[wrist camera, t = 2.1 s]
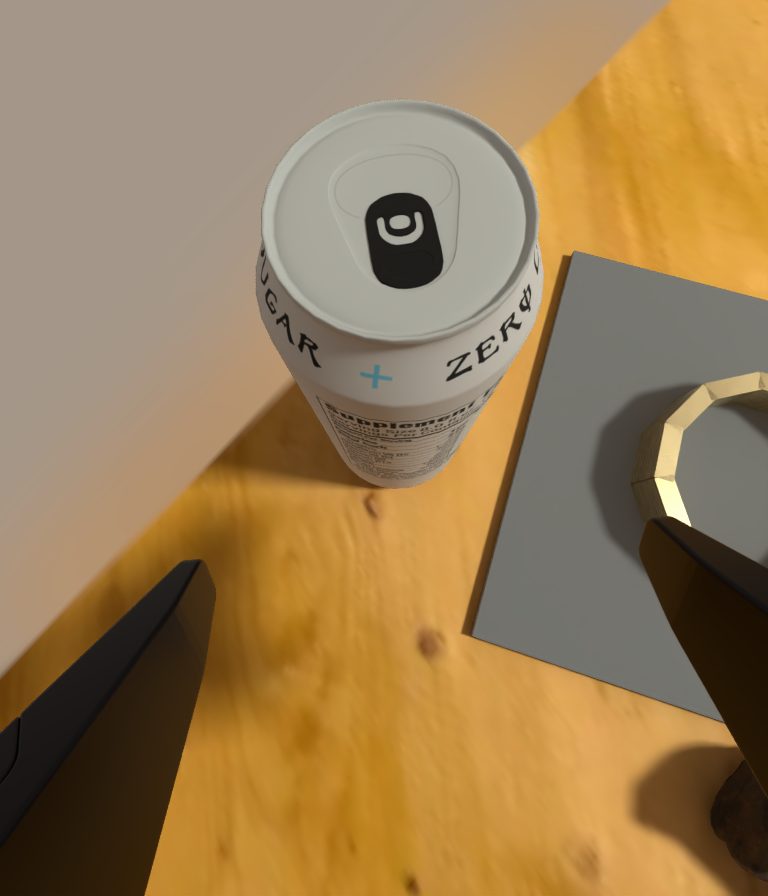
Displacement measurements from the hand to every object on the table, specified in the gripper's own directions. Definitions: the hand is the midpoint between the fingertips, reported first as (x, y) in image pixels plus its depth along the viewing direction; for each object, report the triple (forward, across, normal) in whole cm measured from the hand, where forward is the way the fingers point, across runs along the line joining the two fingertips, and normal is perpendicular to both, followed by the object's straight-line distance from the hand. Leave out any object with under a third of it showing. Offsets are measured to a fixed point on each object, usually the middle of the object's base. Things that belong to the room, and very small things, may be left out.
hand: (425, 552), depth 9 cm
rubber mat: (+10, -16, +8) cm, 20 cm away
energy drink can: (+13, 0, +5) cm, 14 cm away
